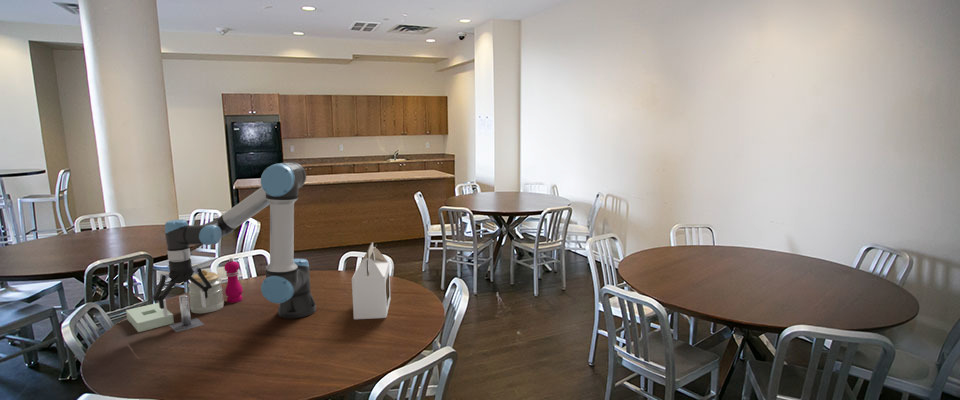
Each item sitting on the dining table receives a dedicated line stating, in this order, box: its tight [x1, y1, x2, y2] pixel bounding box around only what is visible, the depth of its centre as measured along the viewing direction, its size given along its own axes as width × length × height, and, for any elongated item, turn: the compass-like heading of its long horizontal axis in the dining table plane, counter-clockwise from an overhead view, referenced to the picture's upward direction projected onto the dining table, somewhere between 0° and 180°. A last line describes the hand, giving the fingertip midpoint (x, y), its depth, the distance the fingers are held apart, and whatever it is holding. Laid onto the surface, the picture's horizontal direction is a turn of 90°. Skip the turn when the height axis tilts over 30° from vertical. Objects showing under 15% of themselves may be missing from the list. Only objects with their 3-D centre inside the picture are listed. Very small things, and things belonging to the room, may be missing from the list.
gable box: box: [351, 242, 391, 320], centre depth 209 cm, size 22×13×28 cm, turn 6°
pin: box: [178, 294, 192, 326], centre depth 195 cm, size 3×3×12 cm
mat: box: [168, 317, 205, 333], centre depth 196 cm, size 10×10×1 cm
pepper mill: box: [223, 257, 244, 304], centre depth 222 cm, size 7×7×20 cm
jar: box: [187, 269, 225, 314], centre depth 213 cm, size 13×13×18 cm
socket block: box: [125, 302, 175, 333], centre depth 200 cm, size 20×12×4 cm, turn 46°
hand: (185, 311), depth 195 cm, fingers open, 13 cm apart
